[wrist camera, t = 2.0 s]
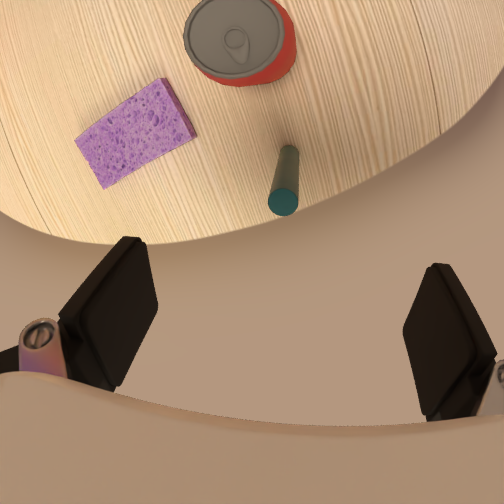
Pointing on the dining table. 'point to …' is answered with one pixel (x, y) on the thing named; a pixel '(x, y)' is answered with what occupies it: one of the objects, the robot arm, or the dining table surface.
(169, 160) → the dining table surface
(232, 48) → the beer can
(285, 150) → the cylinder
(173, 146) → the sponge
